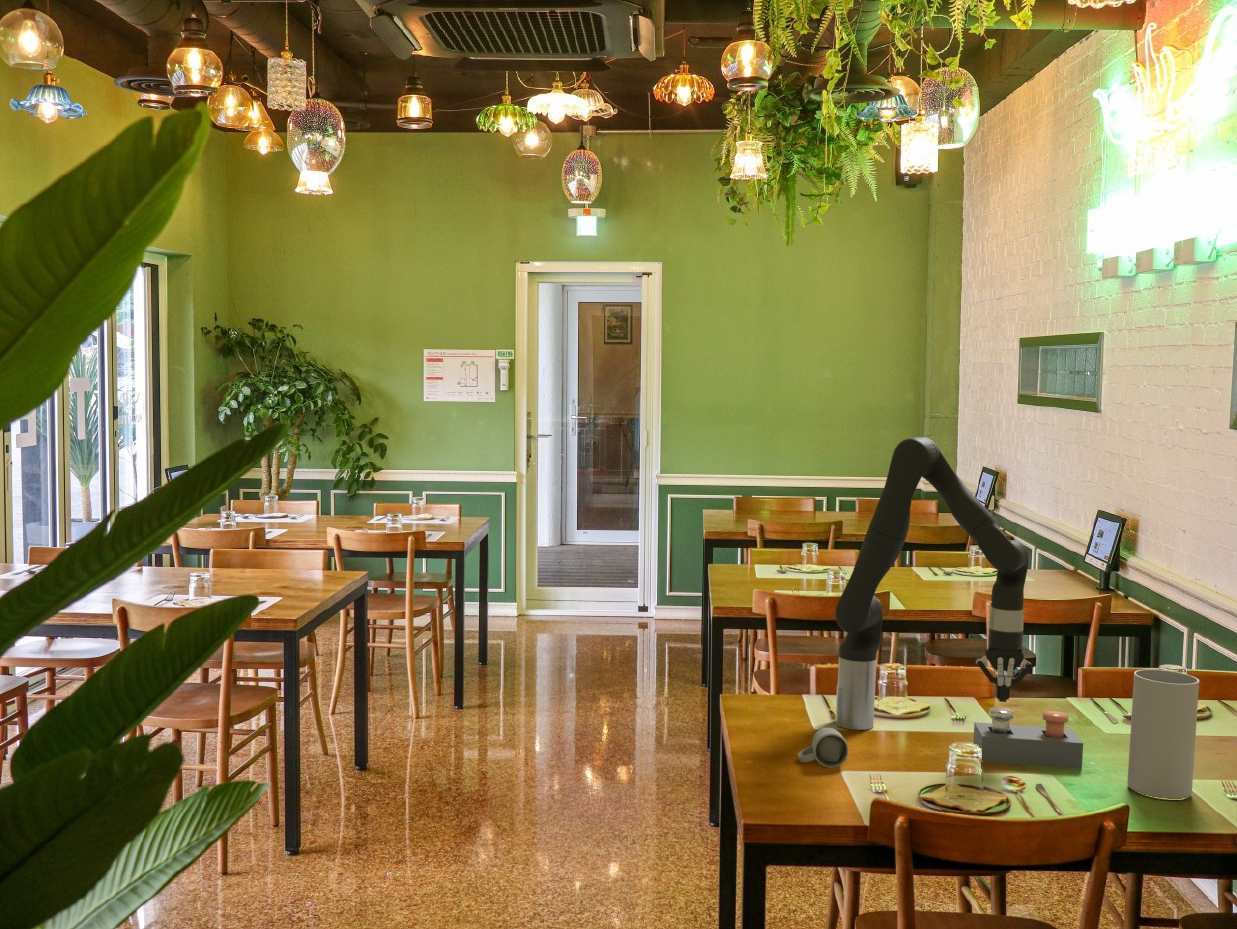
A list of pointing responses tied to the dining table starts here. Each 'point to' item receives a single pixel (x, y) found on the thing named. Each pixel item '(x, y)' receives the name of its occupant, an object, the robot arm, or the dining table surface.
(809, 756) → the ceramic mug
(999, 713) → the steel plunger
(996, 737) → the plunger housing
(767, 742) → the dining table surface
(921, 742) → the dining table surface
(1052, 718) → the terracotta plunger
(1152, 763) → the cylinder vase
